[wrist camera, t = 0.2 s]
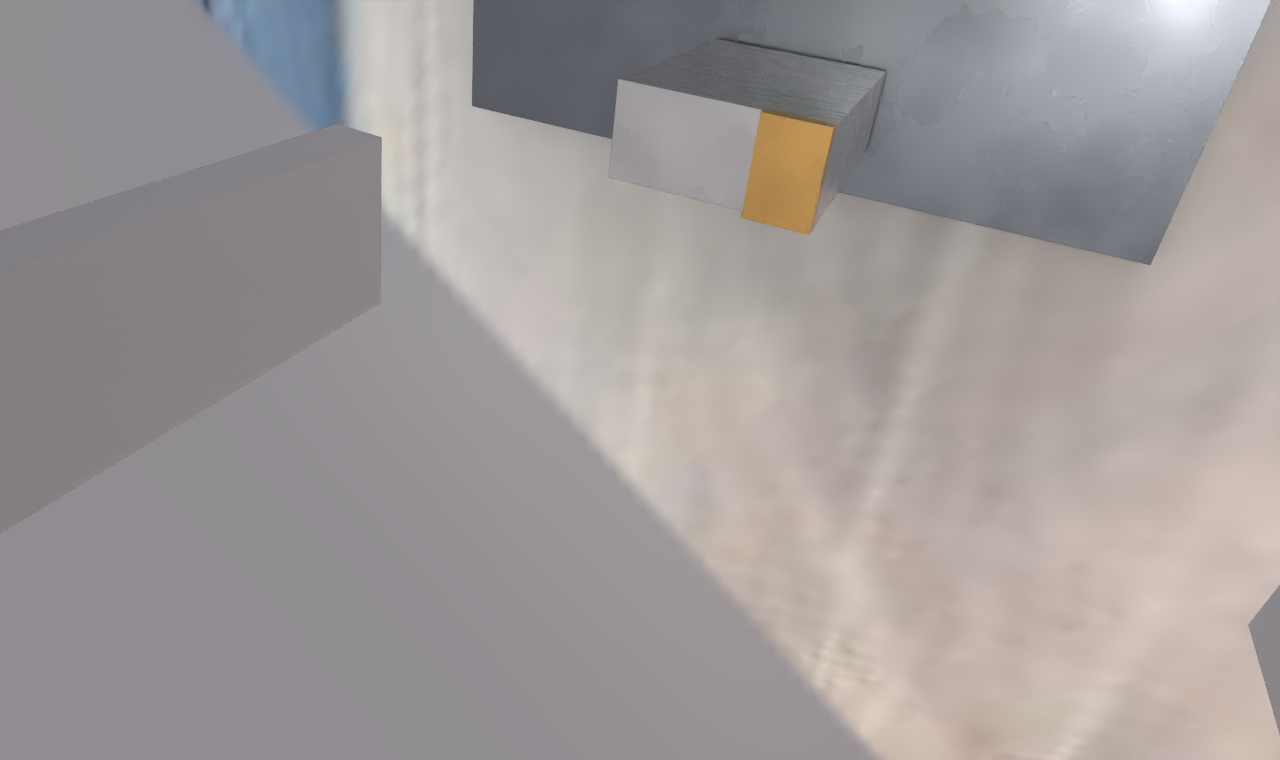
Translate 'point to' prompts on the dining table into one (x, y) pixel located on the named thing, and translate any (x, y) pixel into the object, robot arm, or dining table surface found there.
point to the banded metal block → (745, 129)
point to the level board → (933, 93)
